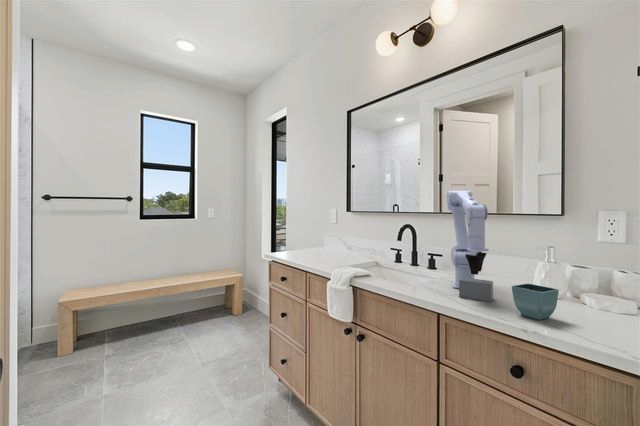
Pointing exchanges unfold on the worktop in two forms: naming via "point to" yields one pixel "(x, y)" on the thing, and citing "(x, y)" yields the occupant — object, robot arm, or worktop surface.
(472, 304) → the worktop surface
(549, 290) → the flower pot
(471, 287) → the gray rectangular block
